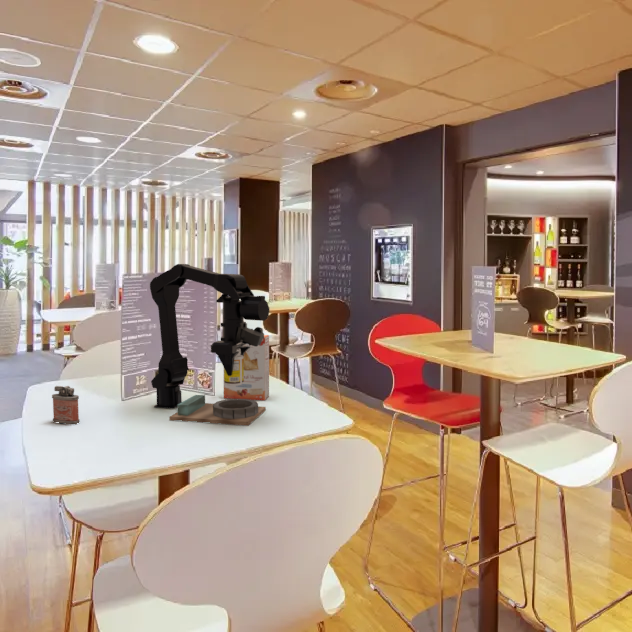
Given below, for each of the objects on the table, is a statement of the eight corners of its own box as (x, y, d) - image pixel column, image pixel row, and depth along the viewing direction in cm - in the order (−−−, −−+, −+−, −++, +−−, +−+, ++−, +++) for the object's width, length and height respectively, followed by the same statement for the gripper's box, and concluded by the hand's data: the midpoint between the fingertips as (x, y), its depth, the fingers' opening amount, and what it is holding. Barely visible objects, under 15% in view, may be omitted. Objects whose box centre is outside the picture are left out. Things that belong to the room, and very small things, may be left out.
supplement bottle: (235, 381, 152) (234, 346, 152) (247, 384, 149) (247, 348, 148) (219, 384, 148) (219, 348, 147) (232, 387, 145) (232, 350, 144)
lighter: (82, 422, 143) (81, 386, 142) (73, 425, 140) (71, 388, 139) (59, 419, 146) (58, 384, 145) (49, 422, 142) (48, 386, 142)
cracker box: (223, 399, 169) (222, 335, 167) (229, 394, 175) (228, 333, 173) (265, 401, 167) (264, 336, 165) (269, 396, 173) (269, 334, 171)
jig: (169, 420, 145) (169, 406, 145) (194, 405, 161) (193, 392, 161) (248, 425, 141) (248, 411, 140) (265, 410, 156) (265, 396, 156)
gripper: (249, 323, 136) (249, 381, 138) (270, 316, 154) (270, 368, 156) (209, 321, 138) (210, 379, 140) (235, 315, 157) (235, 367, 158)
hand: (233, 373), depth 148 cm, fingers closed on supplement bottle, 6 cm apart
